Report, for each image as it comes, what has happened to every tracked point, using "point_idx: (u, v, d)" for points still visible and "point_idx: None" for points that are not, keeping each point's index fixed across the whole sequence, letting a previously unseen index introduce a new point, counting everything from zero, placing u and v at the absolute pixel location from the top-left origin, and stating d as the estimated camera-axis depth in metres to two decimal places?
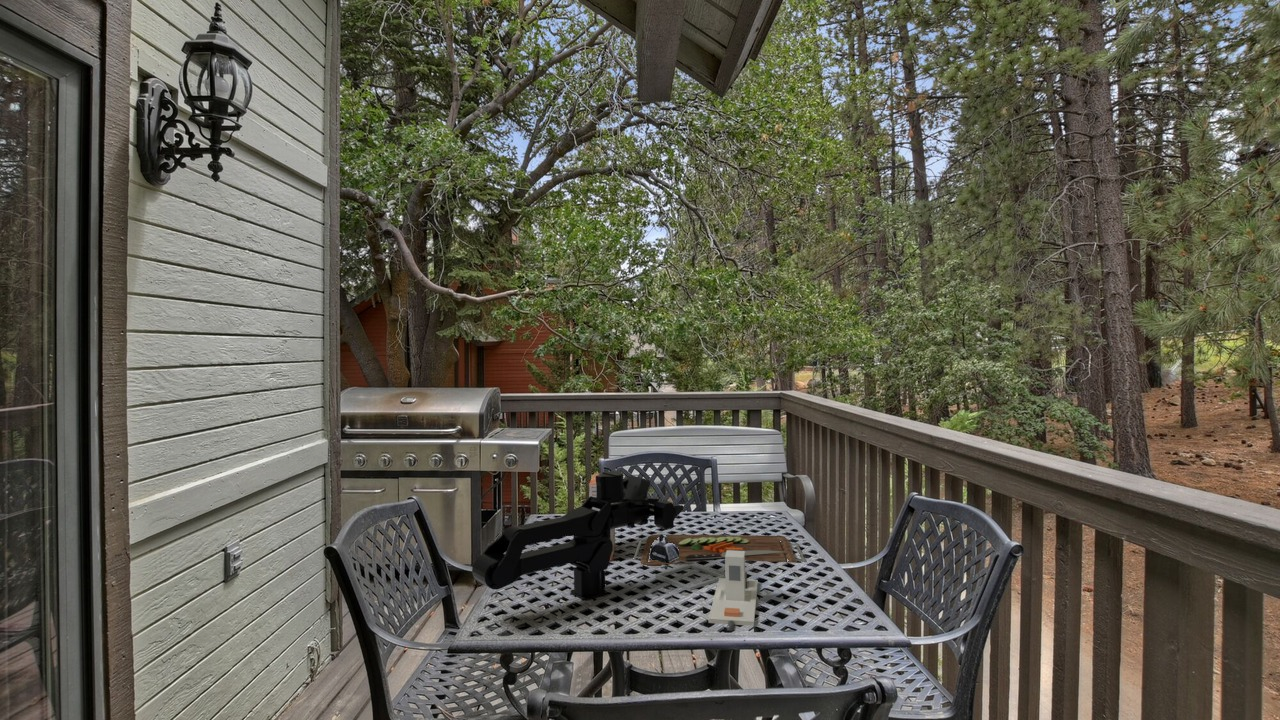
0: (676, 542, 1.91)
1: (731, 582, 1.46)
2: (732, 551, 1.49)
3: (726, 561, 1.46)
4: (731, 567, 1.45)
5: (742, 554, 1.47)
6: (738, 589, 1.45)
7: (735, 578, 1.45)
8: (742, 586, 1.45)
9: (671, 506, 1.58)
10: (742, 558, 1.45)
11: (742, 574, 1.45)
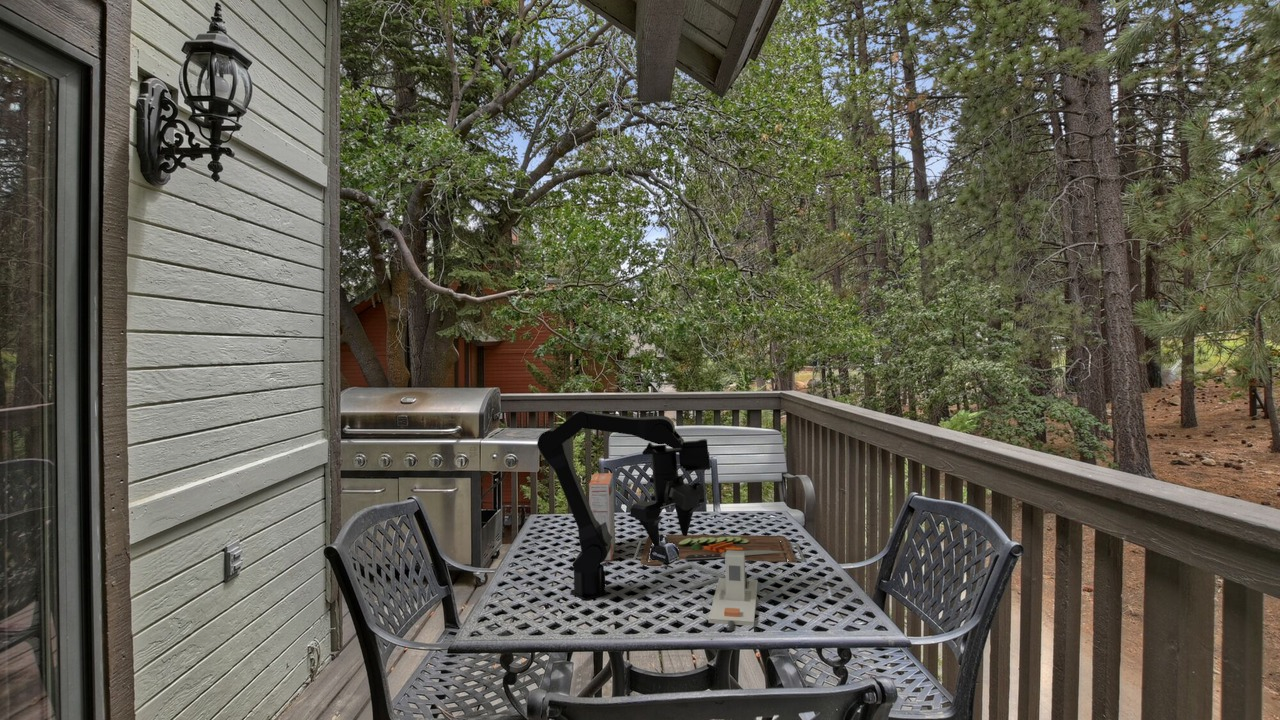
0: (676, 542, 1.91)
1: (731, 582, 1.46)
2: (732, 551, 1.49)
3: (726, 561, 1.46)
4: (731, 567, 1.45)
5: (742, 554, 1.47)
6: (738, 589, 1.45)
7: (735, 578, 1.45)
8: (742, 586, 1.45)
9: (645, 516, 1.44)
10: (742, 558, 1.45)
11: (742, 574, 1.45)
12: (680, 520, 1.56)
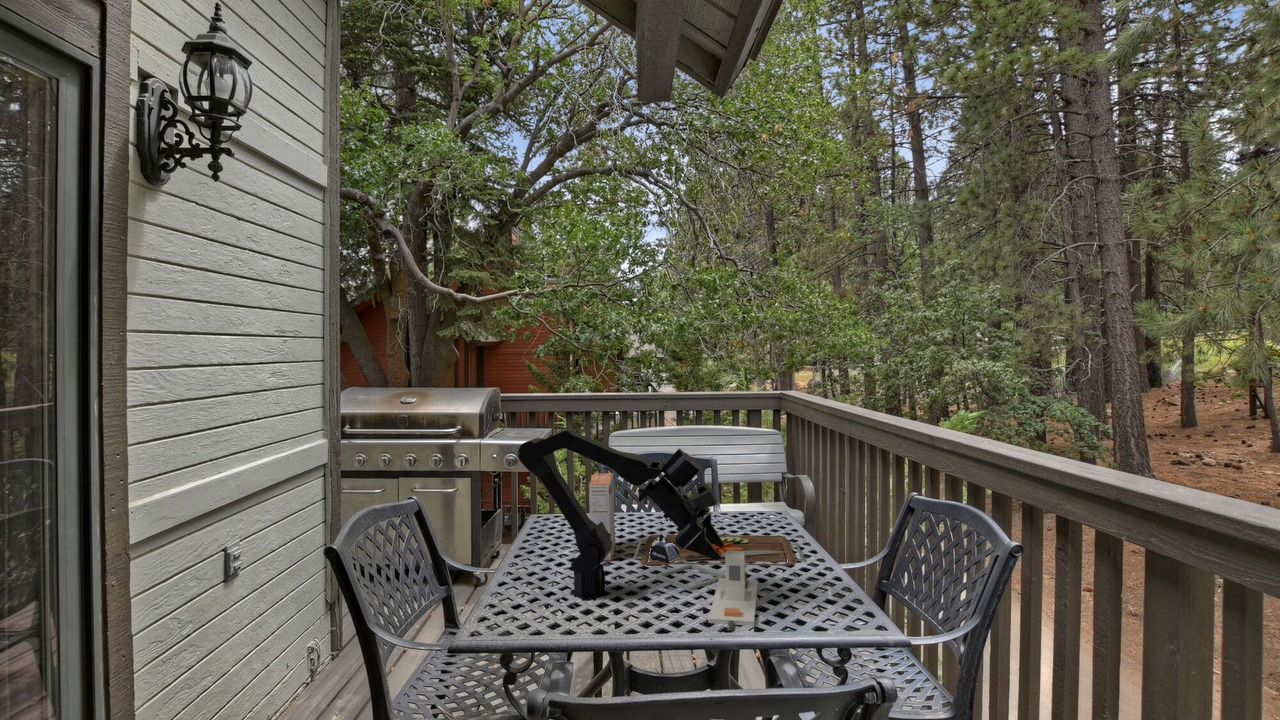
0: None
1: (731, 582, 1.46)
2: (732, 551, 1.49)
3: (726, 561, 1.46)
4: (731, 567, 1.45)
5: (742, 554, 1.47)
6: (738, 589, 1.45)
7: (735, 578, 1.45)
8: (742, 586, 1.45)
9: (697, 530, 1.40)
10: (742, 558, 1.45)
11: (742, 574, 1.45)
12: (708, 538, 1.53)
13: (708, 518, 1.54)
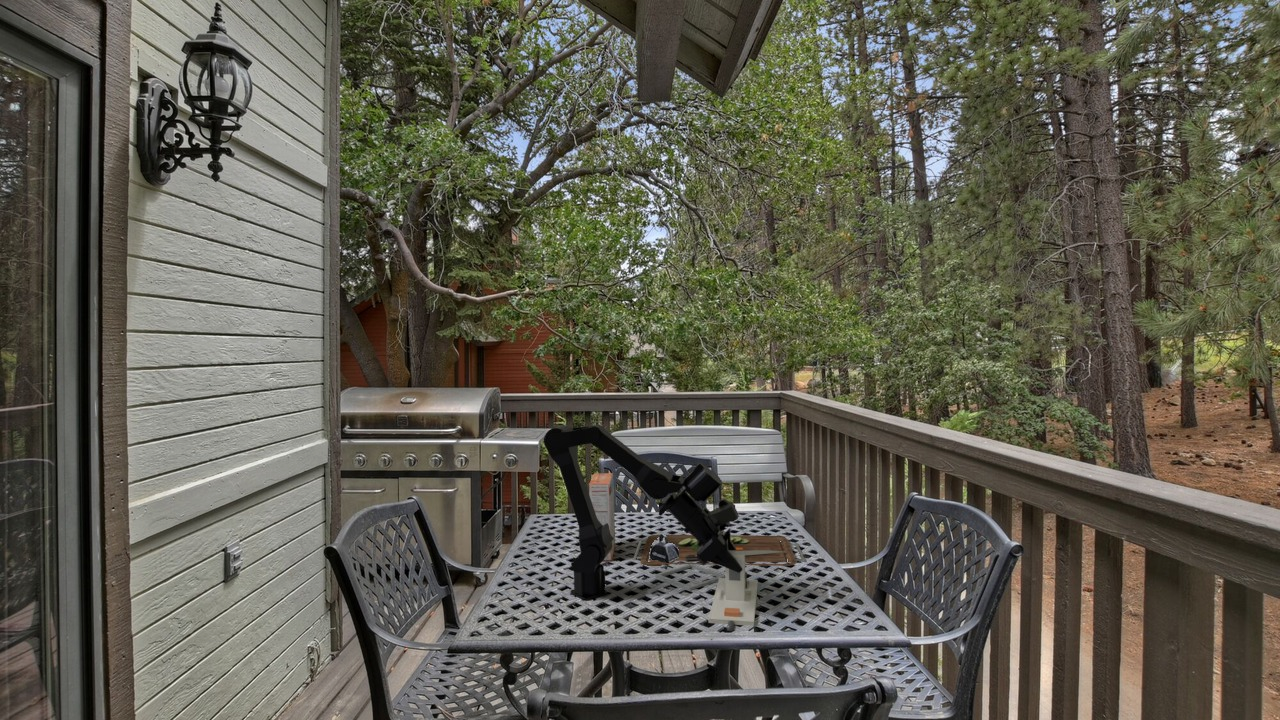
0: (676, 542, 1.91)
1: (731, 582, 1.46)
2: (732, 551, 1.49)
3: None
4: None
5: (742, 554, 1.47)
6: (738, 589, 1.45)
7: (735, 578, 1.45)
8: (742, 586, 1.45)
9: (719, 546, 1.39)
10: (742, 558, 1.45)
11: (742, 574, 1.45)
12: None
13: (727, 535, 1.51)
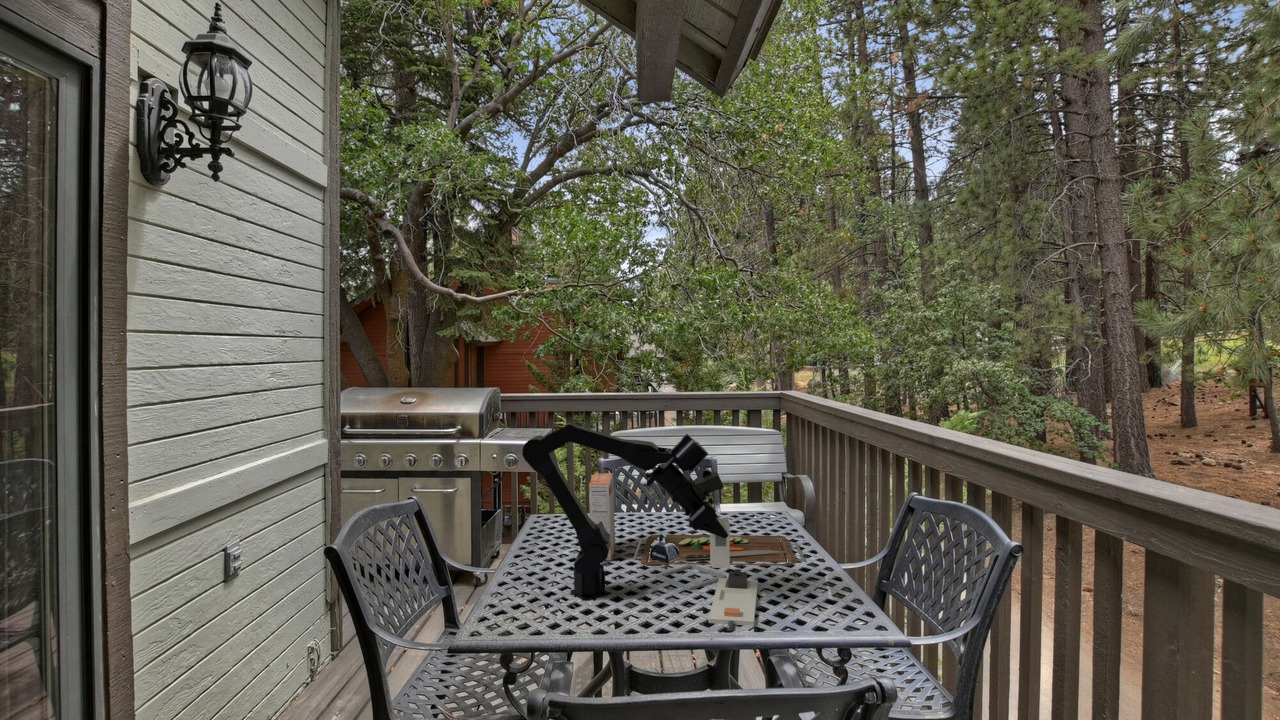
0: (676, 542, 1.91)
1: (717, 548, 1.51)
2: None
3: None
4: None
5: (727, 521, 1.53)
6: (724, 554, 1.51)
7: (721, 544, 1.51)
8: (728, 551, 1.51)
9: (711, 512, 1.44)
10: (728, 524, 1.51)
11: (728, 540, 1.51)
12: None
13: (710, 503, 1.56)
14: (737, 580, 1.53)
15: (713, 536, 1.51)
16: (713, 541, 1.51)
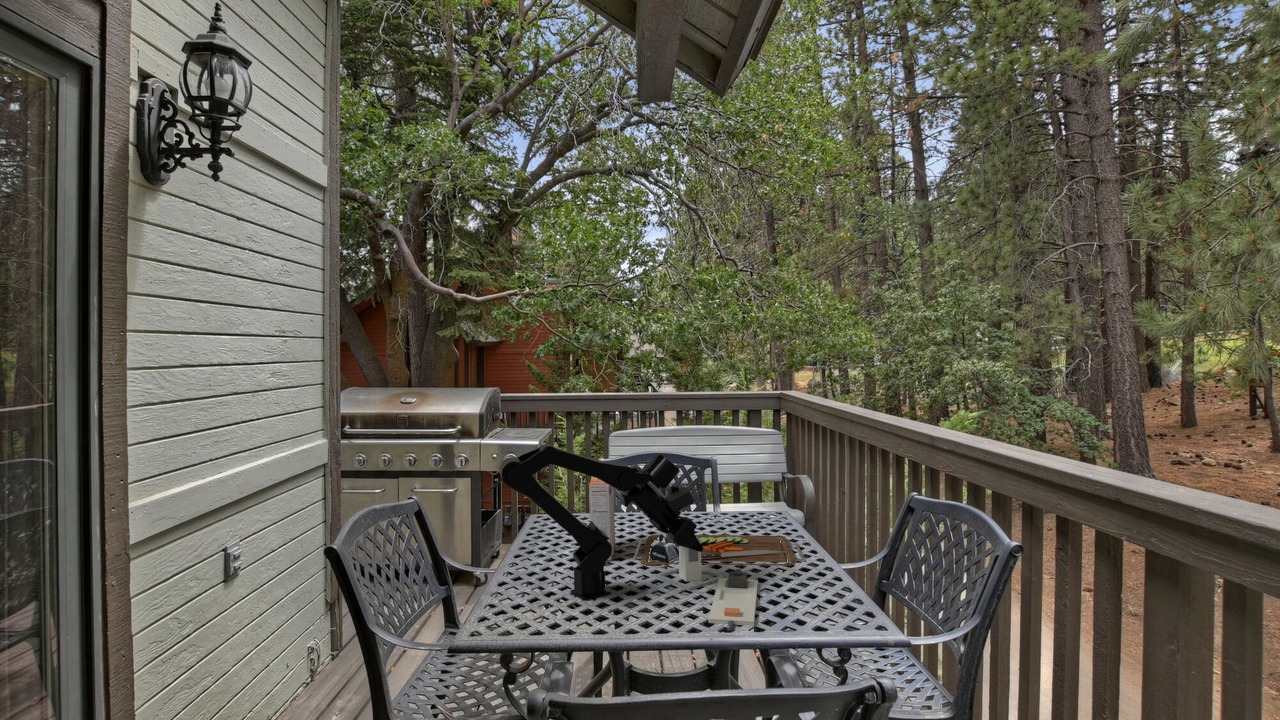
0: None
1: (690, 563, 1.59)
2: None
3: None
4: (690, 550, 1.59)
5: None
6: (696, 569, 1.60)
7: (694, 559, 1.60)
8: (700, 565, 1.60)
9: (693, 526, 1.52)
10: (699, 540, 1.60)
11: (699, 555, 1.60)
12: None
13: None
14: (737, 580, 1.53)
15: (686, 553, 1.59)
16: (686, 557, 1.59)
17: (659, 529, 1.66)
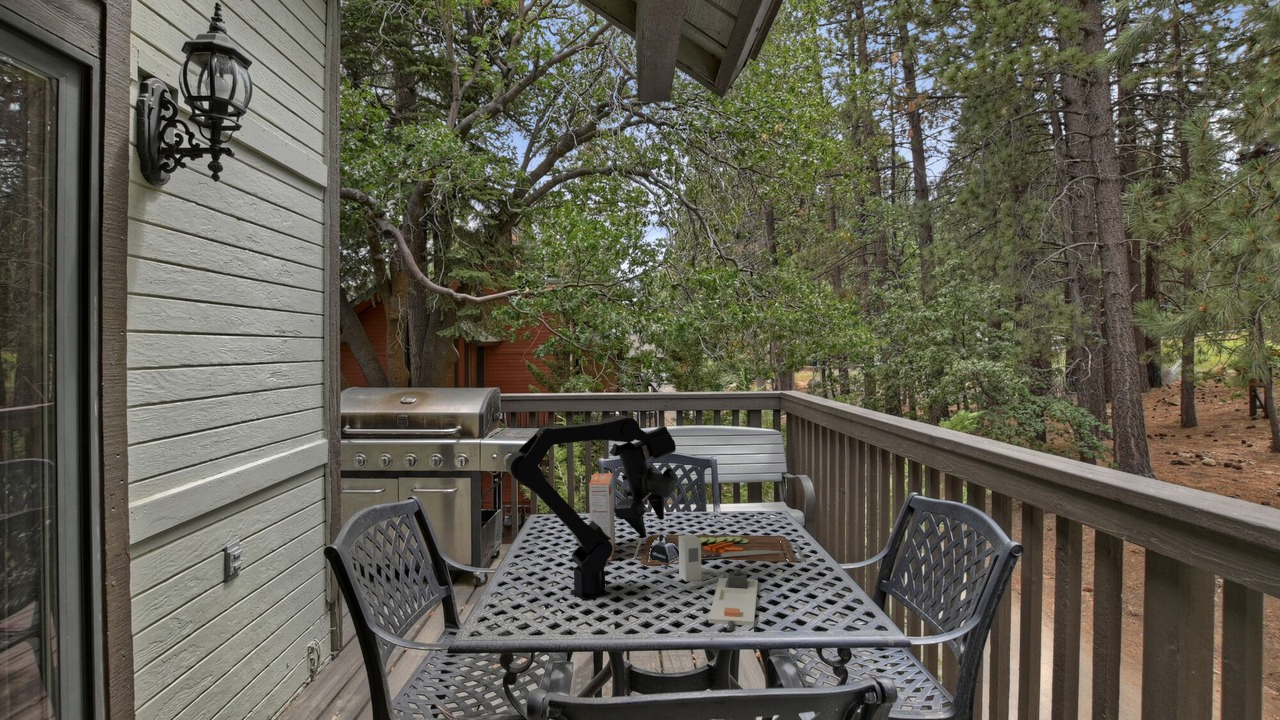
0: (676, 542, 1.91)
1: (690, 563, 1.59)
2: (684, 536, 1.63)
3: (686, 545, 1.59)
4: (690, 550, 1.59)
5: (696, 537, 1.62)
6: (696, 569, 1.60)
7: (694, 559, 1.60)
8: (700, 565, 1.60)
9: (633, 514, 1.50)
10: (699, 540, 1.60)
11: (699, 555, 1.60)
12: (654, 506, 1.64)
13: None
14: (737, 580, 1.53)
15: (686, 553, 1.59)
16: (686, 557, 1.59)
17: None
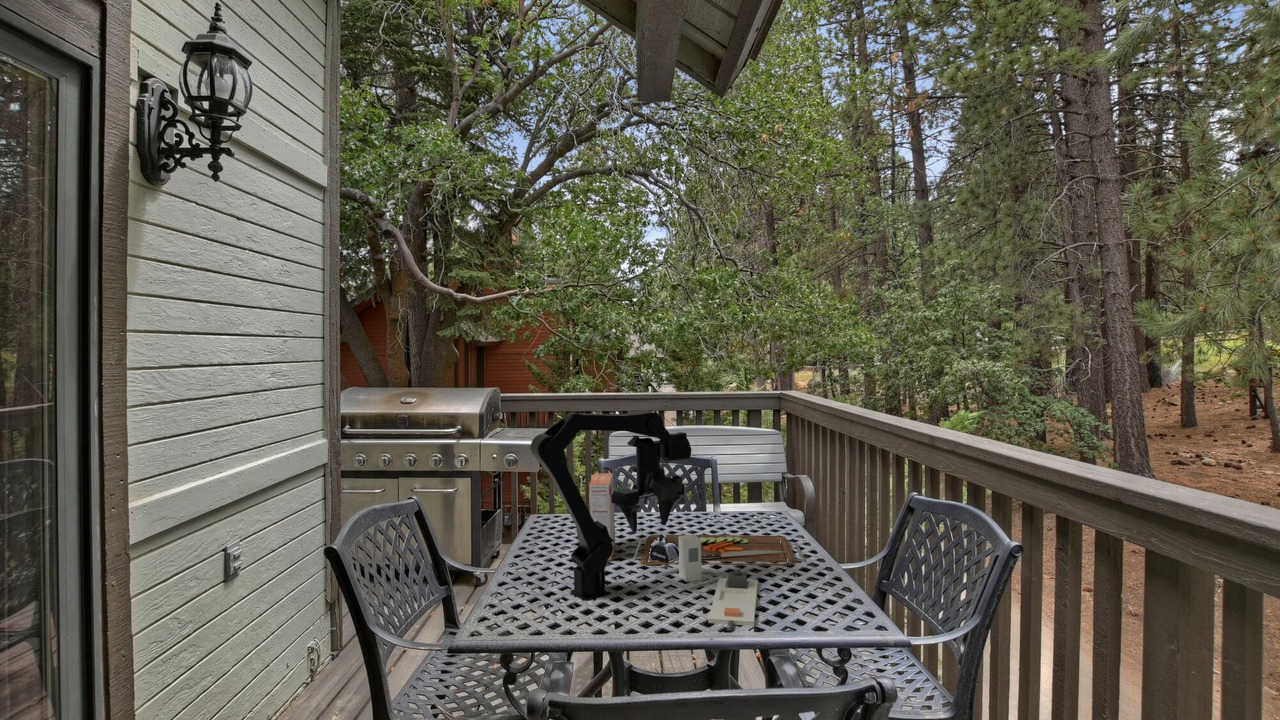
0: (676, 542, 1.91)
1: (690, 563, 1.59)
2: (684, 536, 1.63)
3: (686, 545, 1.59)
4: (690, 550, 1.59)
5: (696, 537, 1.62)
6: (696, 569, 1.60)
7: (694, 559, 1.60)
8: (700, 565, 1.60)
9: (624, 503, 1.53)
10: (699, 540, 1.60)
11: (699, 555, 1.60)
12: (661, 510, 1.64)
13: (670, 499, 1.62)
14: (737, 580, 1.53)
15: (686, 553, 1.59)
16: (686, 557, 1.59)
17: None
